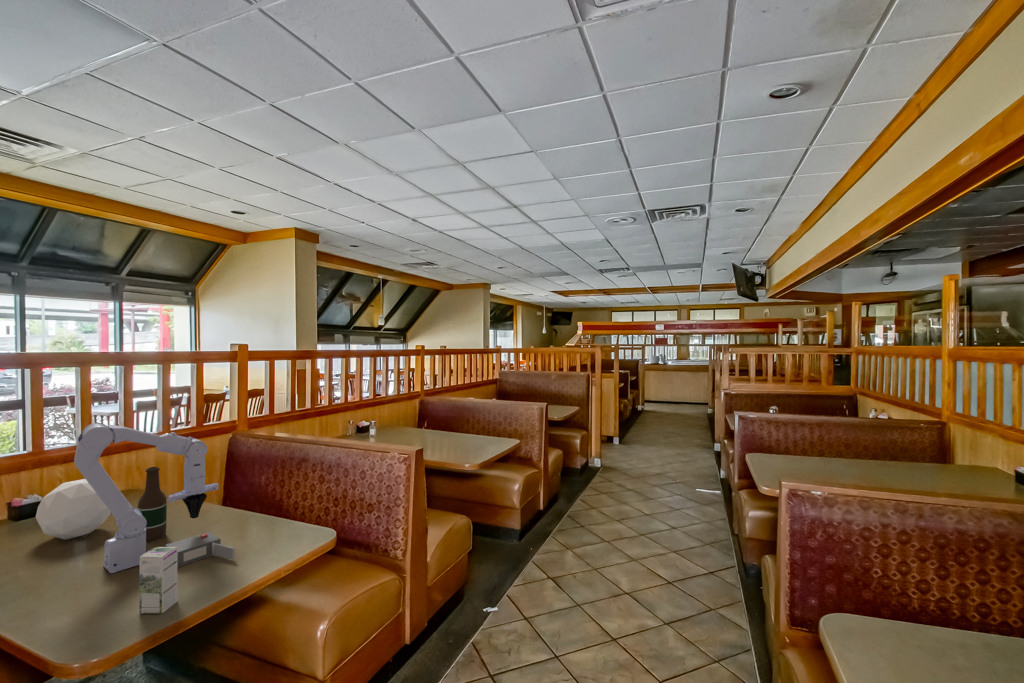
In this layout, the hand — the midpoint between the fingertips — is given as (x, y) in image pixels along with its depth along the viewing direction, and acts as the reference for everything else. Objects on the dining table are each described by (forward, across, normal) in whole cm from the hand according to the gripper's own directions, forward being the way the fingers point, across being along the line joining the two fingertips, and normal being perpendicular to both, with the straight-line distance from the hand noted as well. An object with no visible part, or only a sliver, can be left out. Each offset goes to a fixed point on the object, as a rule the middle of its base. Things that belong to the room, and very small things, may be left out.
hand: (194, 517), depth 149 cm
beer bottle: (+10, -3, +20) cm, 22 cm away
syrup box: (+10, -24, -29) cm, 39 cm away
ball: (+10, -13, +45) cm, 48 cm away
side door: (+9, -1, -17) cm, 19 cm away
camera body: (+9, -4, -7) cm, 13 cm away
